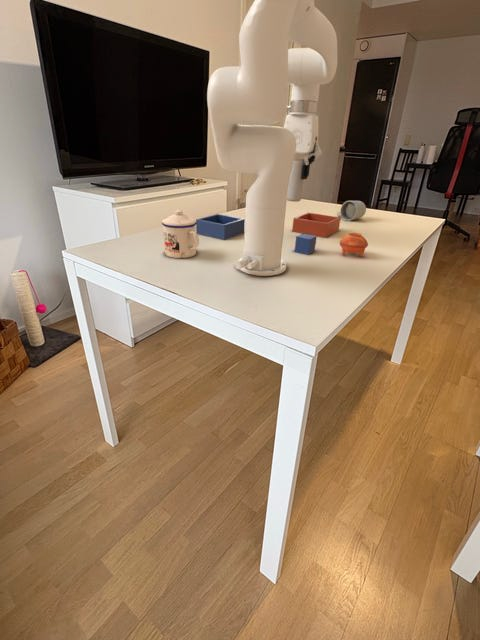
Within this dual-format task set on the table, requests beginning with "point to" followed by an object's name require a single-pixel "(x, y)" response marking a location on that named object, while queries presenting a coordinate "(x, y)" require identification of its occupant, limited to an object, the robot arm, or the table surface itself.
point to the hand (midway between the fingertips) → (296, 177)
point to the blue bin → (220, 226)
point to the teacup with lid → (180, 235)
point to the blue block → (305, 243)
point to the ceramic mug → (352, 210)
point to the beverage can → (295, 181)
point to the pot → (353, 243)
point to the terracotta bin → (316, 224)
